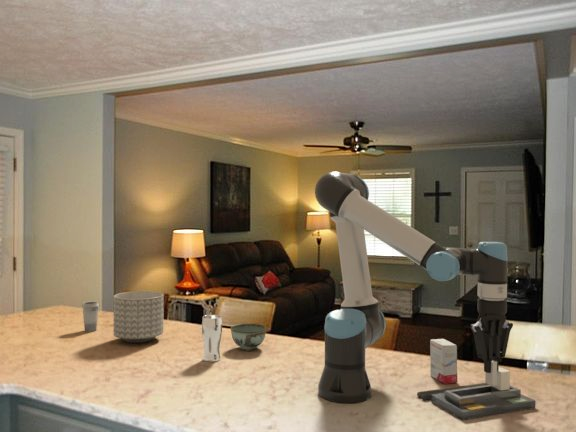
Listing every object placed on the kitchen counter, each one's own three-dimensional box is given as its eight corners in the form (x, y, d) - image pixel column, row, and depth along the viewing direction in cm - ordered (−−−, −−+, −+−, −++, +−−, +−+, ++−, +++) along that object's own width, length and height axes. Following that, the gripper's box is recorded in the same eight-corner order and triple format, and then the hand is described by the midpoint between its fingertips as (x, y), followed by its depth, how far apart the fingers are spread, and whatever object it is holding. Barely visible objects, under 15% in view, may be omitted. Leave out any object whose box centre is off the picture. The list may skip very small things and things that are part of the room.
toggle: (499, 397, 140) (500, 372, 140) (489, 392, 144) (489, 368, 144) (510, 395, 142) (510, 371, 141) (499, 390, 145) (500, 366, 145)
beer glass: (197, 360, 178) (198, 317, 178) (208, 355, 185) (208, 313, 184) (215, 363, 176) (215, 319, 175) (225, 357, 182) (225, 315, 182)
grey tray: (462, 420, 131) (463, 404, 130) (431, 401, 143) (431, 387, 143) (535, 407, 139) (535, 393, 139) (499, 391, 151) (500, 378, 151)
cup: (78, 332, 217) (78, 303, 217) (87, 328, 223) (87, 300, 223) (94, 332, 216) (94, 304, 215) (102, 329, 222) (102, 301, 222)
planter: (156, 347, 195) (156, 299, 194) (106, 346, 195) (106, 298, 195) (168, 334, 214) (168, 291, 213) (122, 334, 214) (123, 290, 214)
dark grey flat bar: (423, 400, 143) (423, 395, 143) (415, 396, 147) (415, 391, 147) (501, 389, 153) (501, 384, 153) (492, 385, 156) (492, 380, 156)
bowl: (273, 347, 196) (273, 326, 196) (252, 355, 185) (252, 333, 185) (244, 342, 204) (245, 321, 203) (223, 349, 192) (223, 328, 192)
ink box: (458, 383, 158) (458, 345, 158) (443, 384, 157) (443, 346, 156) (443, 374, 166) (443, 338, 166) (429, 375, 165) (429, 338, 165)
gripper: (482, 302, 135) (481, 391, 136) (521, 299, 140) (520, 385, 140) (463, 297, 142) (462, 382, 143) (500, 294, 147) (499, 377, 147)
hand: (491, 383), depth 141 cm, fingers closed
